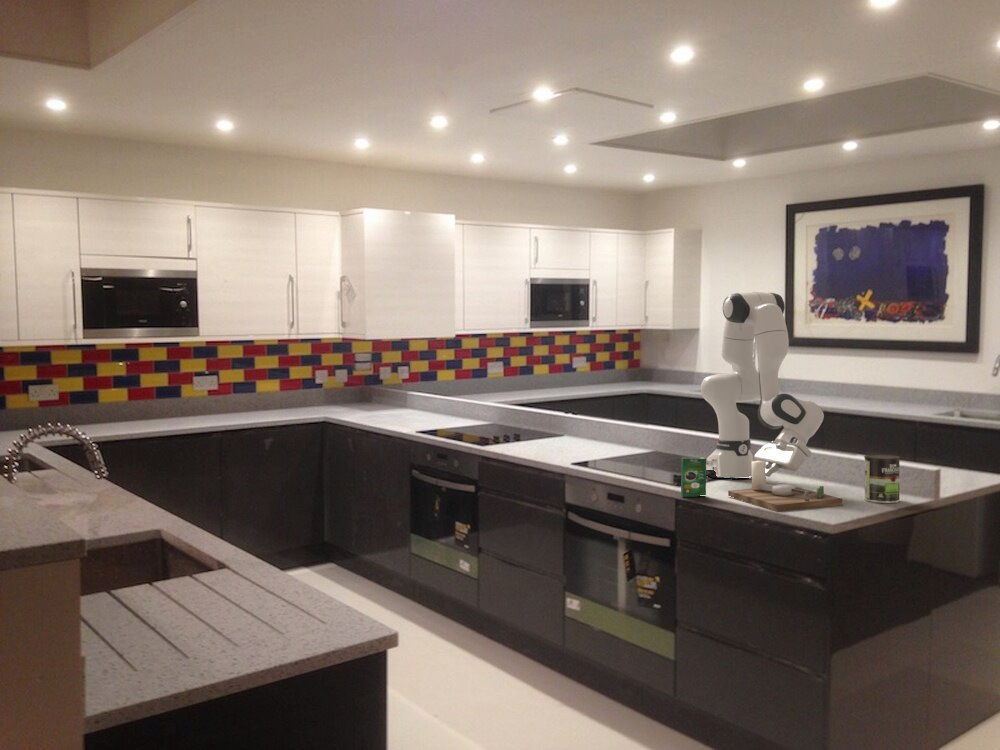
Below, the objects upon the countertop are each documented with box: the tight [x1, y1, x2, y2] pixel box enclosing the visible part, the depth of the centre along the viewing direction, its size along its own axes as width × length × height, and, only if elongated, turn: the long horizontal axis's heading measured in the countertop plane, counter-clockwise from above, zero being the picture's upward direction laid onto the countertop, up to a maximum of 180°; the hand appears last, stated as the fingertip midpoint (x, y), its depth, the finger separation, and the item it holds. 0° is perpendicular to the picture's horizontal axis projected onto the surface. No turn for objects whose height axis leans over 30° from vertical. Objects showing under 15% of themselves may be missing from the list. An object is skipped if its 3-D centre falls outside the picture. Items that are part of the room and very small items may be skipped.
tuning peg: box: [751, 460, 811, 496], centre depth 274 cm, size 22×7×9 cm, turn 32°
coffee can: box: [864, 453, 901, 504], centre depth 271 cm, size 10×10×14 cm
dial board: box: [727, 485, 843, 512], centre depth 274 cm, size 26×24×5 cm
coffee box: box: [680, 457, 707, 498], centre depth 284 cm, size 8×3×13 cm, turn 88°
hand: (764, 475), depth 283 cm, fingers closed, pressing on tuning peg
